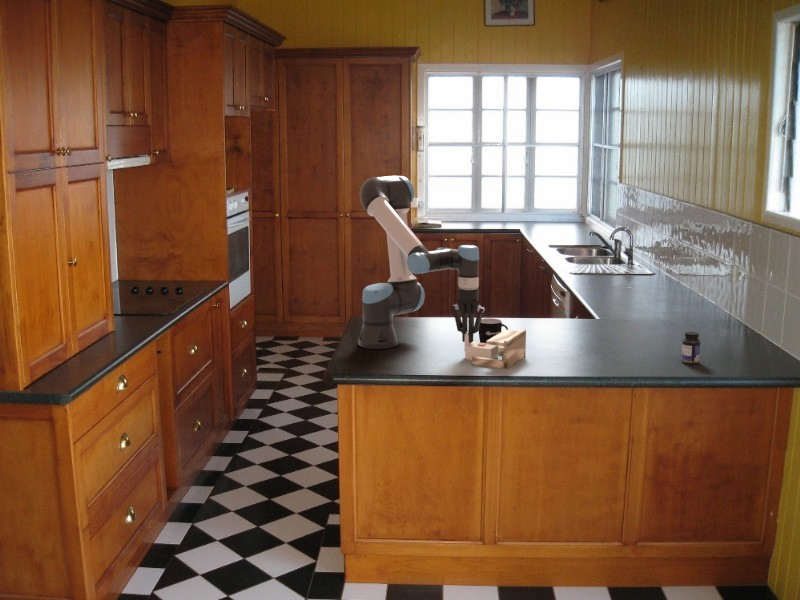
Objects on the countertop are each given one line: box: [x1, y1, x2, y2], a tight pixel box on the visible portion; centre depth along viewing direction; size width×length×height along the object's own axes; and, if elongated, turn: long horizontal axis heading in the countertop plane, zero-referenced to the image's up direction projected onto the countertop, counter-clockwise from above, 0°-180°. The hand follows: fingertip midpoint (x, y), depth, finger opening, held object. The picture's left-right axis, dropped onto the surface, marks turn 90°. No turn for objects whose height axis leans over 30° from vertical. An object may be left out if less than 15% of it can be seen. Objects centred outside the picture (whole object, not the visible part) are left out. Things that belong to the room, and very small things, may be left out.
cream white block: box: [464, 341, 499, 361], centre depth 324 cm, size 10×7×6 cm
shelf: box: [471, 328, 527, 370], centre depth 321 cm, size 14×19×10 cm
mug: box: [478, 317, 509, 343], centre depth 341 cm, size 12×9×10 cm
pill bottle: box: [681, 330, 701, 365], centre depth 316 cm, size 6×6×11 cm
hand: (467, 350), depth 327 cm, fingers closed
